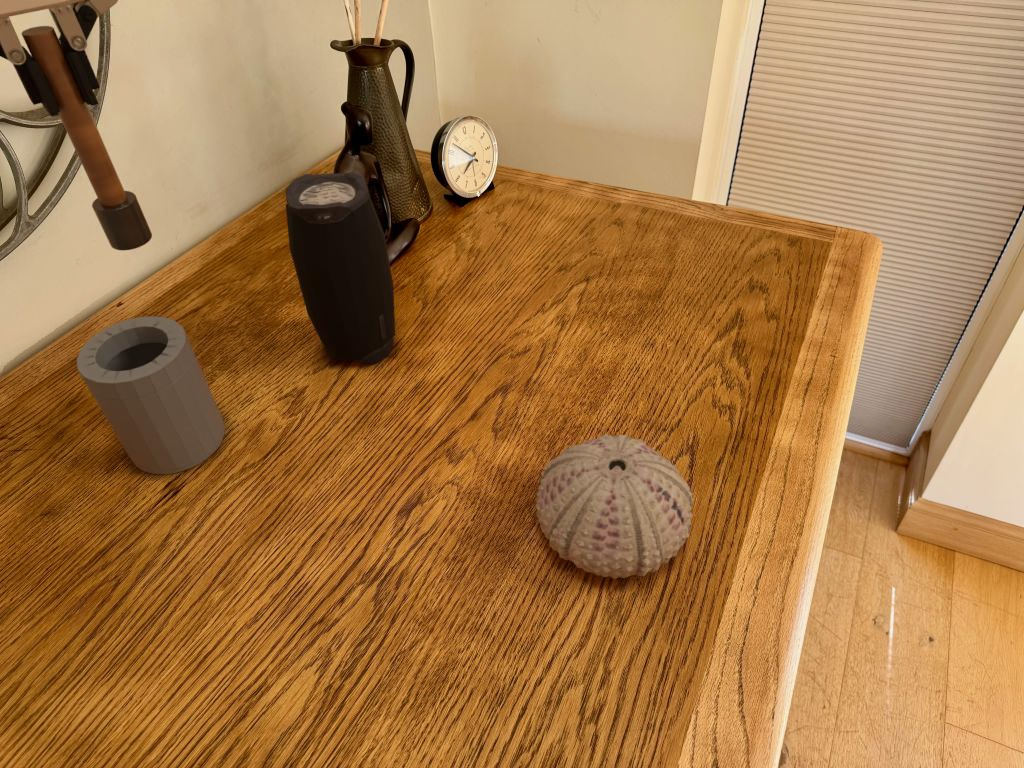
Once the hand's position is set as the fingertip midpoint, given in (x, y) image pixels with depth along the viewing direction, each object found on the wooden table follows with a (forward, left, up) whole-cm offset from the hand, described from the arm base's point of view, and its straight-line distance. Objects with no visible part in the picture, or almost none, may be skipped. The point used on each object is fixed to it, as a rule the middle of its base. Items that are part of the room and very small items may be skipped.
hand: (69, 103), depth 57 cm
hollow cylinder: (+2, -8, -30) cm, 31 cm away
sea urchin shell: (+45, -13, -30) cm, 56 cm away
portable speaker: (+16, +8, -30) cm, 35 cm away
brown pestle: (0, 0, -13) cm, 13 cm away
